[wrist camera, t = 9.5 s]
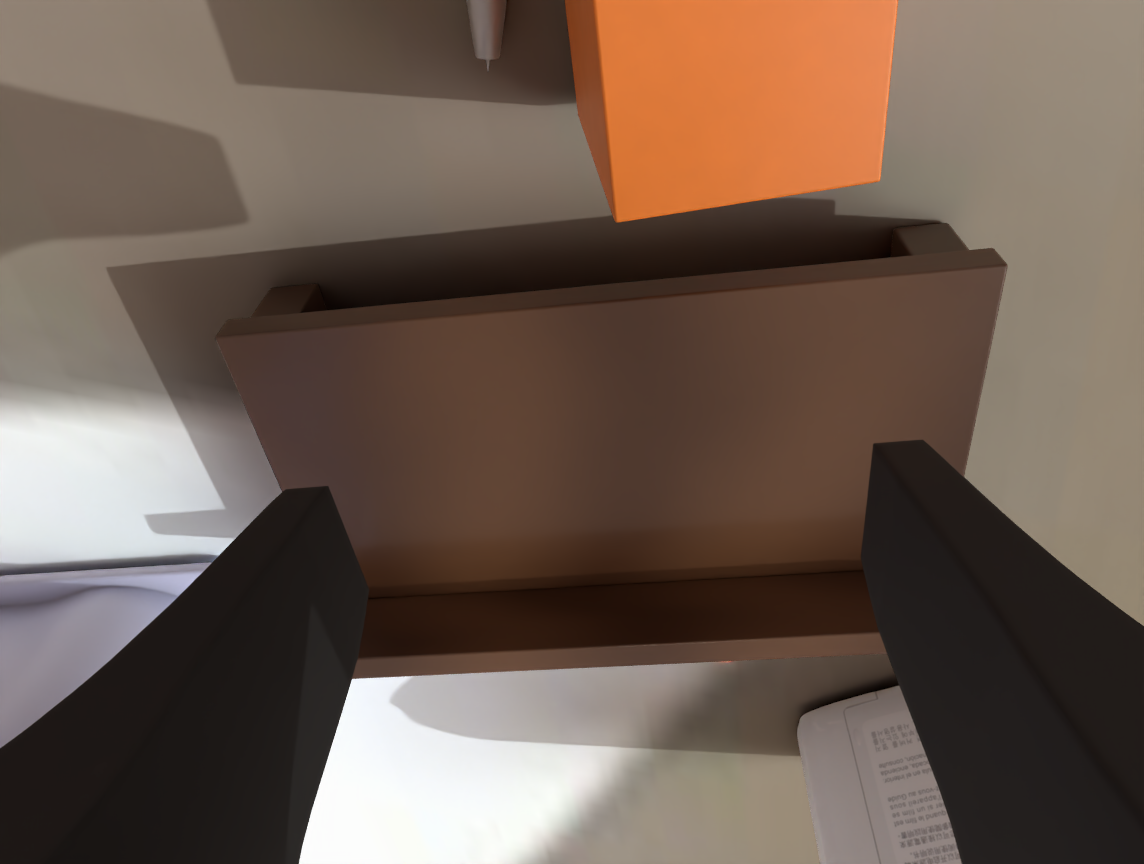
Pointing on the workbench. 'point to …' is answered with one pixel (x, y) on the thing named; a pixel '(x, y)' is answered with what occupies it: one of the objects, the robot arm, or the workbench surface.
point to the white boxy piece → (872, 784)
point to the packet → (730, 98)
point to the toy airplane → (487, 27)
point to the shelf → (620, 452)
